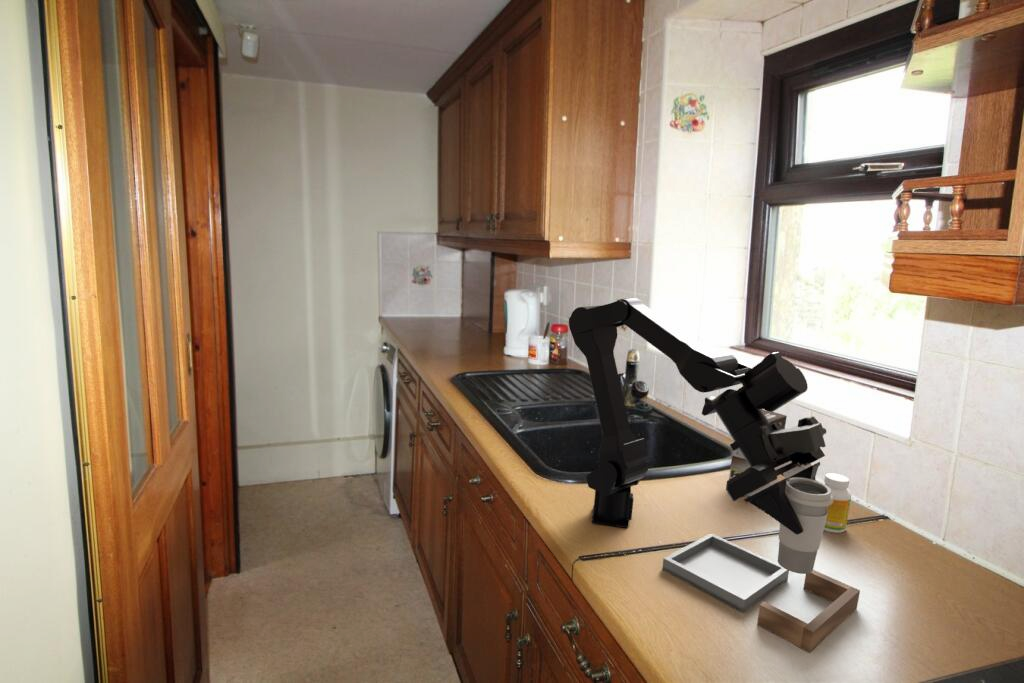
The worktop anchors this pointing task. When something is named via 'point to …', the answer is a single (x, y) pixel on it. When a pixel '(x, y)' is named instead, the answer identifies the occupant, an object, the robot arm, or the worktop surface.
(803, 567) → the cup
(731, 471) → the coffee box
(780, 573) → the tray
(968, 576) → the worktop surface
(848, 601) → the cubby
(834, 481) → the supplement bottle
